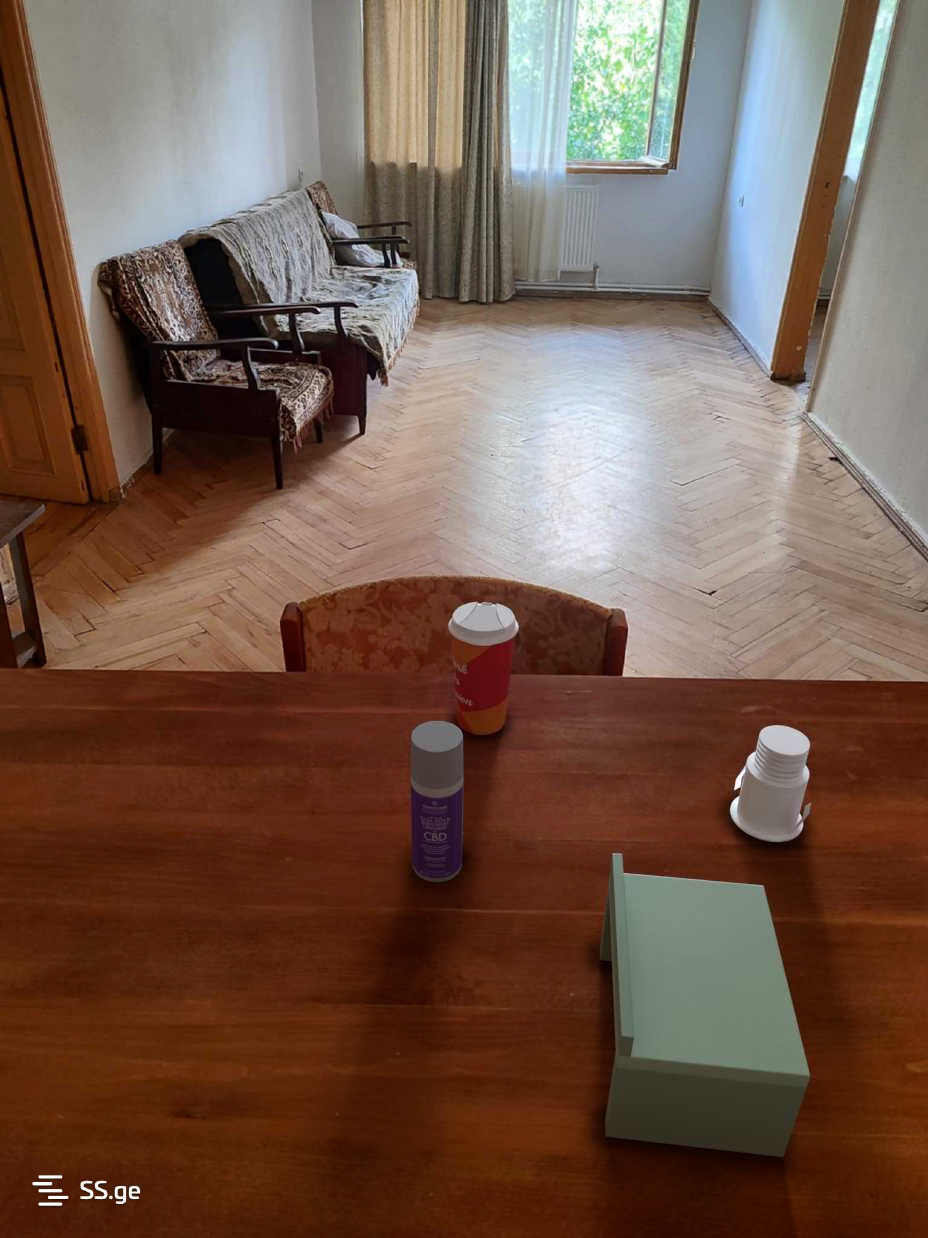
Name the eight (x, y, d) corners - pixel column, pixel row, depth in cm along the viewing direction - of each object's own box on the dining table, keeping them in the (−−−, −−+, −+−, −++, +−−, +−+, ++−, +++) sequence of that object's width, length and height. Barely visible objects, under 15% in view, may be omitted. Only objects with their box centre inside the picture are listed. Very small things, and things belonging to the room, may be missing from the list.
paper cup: (453, 698, 107) (453, 596, 100) (516, 704, 106) (521, 601, 99) (443, 738, 100) (442, 631, 93) (510, 744, 99) (515, 637, 92)
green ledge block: (744, 962, 74) (768, 866, 68) (783, 1157, 60) (817, 1057, 54) (599, 948, 75) (612, 853, 69) (605, 1137, 61) (621, 1036, 56)
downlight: (821, 829, 88) (843, 749, 83) (775, 857, 84) (795, 776, 79) (756, 784, 93) (774, 707, 88) (711, 810, 90) (726, 731, 85)
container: (423, 888, 80) (421, 758, 73) (405, 854, 84) (401, 727, 77) (470, 873, 82) (472, 745, 75) (450, 840, 86) (451, 714, 78)
